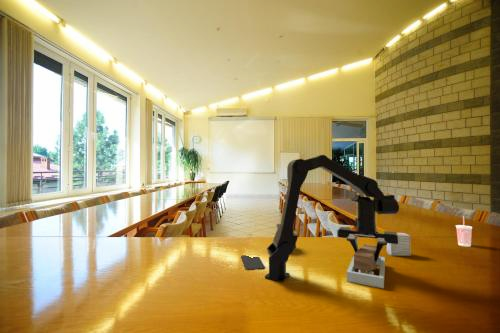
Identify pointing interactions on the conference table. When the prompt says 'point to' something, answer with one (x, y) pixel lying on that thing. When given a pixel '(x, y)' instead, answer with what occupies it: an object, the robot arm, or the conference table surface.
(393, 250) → the medicine box
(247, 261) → the phone
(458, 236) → the beverage cup
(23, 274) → the conference table surface
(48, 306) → the conference table surface
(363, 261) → the brown block
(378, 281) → the peg frame
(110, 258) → the conference table surface
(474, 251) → the conference table surface
